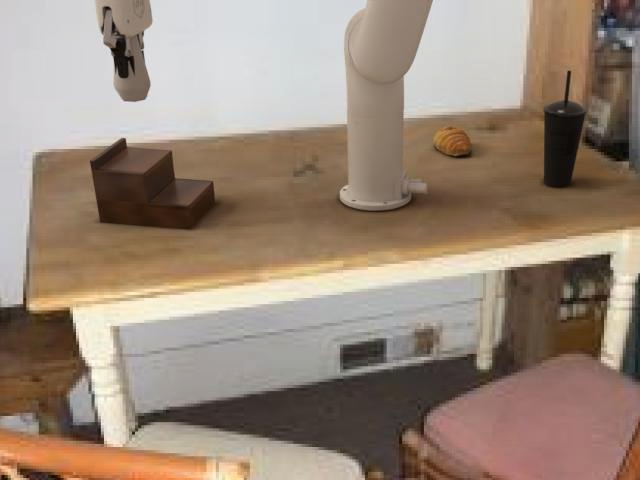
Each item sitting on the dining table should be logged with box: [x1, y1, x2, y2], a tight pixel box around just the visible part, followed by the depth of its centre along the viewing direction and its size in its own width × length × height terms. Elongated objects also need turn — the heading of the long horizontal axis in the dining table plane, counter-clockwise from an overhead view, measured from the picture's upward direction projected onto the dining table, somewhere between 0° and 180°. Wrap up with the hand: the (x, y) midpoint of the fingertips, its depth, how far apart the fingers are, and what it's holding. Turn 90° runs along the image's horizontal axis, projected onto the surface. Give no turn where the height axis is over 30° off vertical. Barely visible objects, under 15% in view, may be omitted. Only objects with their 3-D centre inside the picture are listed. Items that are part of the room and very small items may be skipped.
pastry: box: [433, 125, 472, 157], centre depth 185 cm, size 9×7×4 cm
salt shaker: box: [112, 31, 152, 103], centre depth 146 cm, size 6×6×13 cm
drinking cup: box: [542, 70, 588, 188], centre depth 165 cm, size 8×8×20 cm
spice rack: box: [89, 137, 216, 230], centre depth 156 cm, size 16×12×11 cm
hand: (131, 77), depth 148 cm, fingers closed on salt shaker, 3 cm apart
